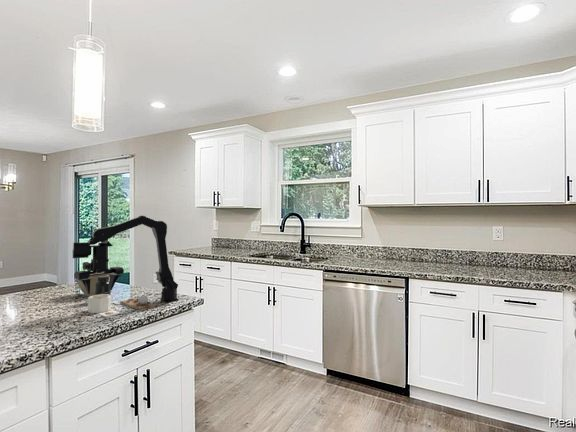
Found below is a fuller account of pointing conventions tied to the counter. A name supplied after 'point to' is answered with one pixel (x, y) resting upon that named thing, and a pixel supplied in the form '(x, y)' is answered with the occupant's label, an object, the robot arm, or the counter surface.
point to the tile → (109, 313)
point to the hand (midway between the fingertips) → (99, 292)
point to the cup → (99, 303)
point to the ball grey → (143, 300)
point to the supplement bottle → (102, 286)
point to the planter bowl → (92, 284)
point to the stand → (137, 304)
